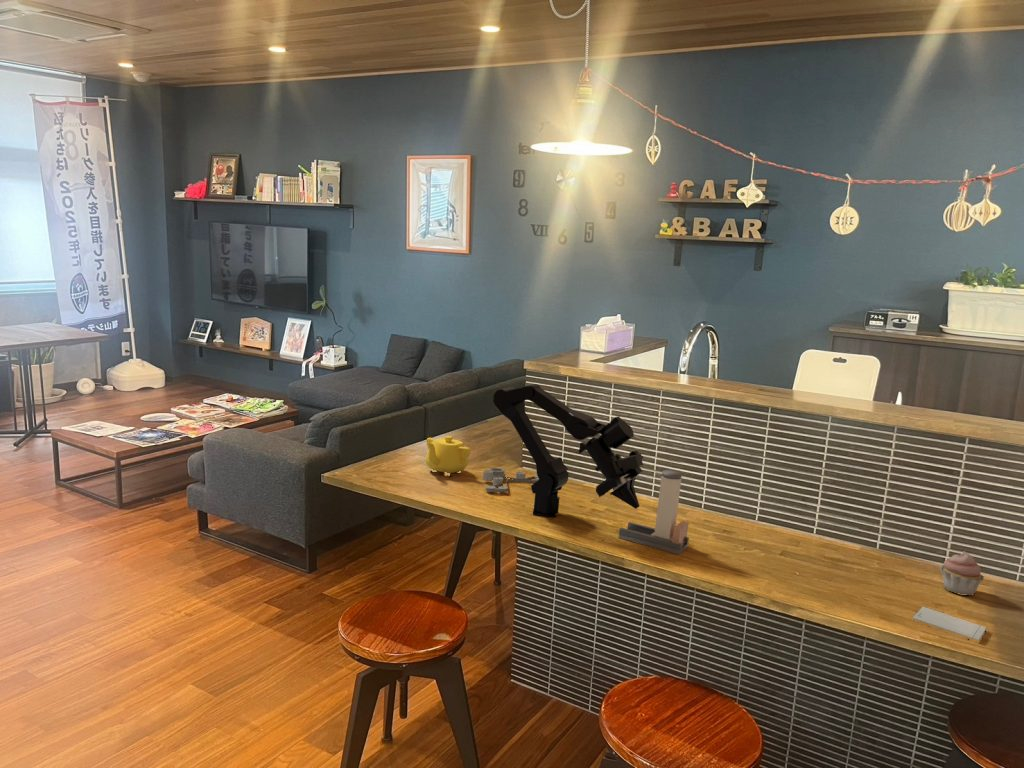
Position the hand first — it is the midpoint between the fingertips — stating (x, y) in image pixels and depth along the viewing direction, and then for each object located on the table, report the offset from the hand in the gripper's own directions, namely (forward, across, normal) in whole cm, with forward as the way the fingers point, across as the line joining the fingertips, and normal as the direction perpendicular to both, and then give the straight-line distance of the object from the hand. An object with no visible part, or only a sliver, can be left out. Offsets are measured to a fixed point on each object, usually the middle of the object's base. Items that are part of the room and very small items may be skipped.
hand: (637, 507), depth 197 cm
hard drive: (+57, -2, -46) cm, 73 cm away
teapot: (-43, +11, +57) cm, 72 cm away
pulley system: (-28, +17, +42) cm, 53 cm away
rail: (+9, 0, +2) cm, 10 cm away
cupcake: (+58, +22, -48) cm, 78 cm away
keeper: (+10, 0, -1) cm, 11 cm away
